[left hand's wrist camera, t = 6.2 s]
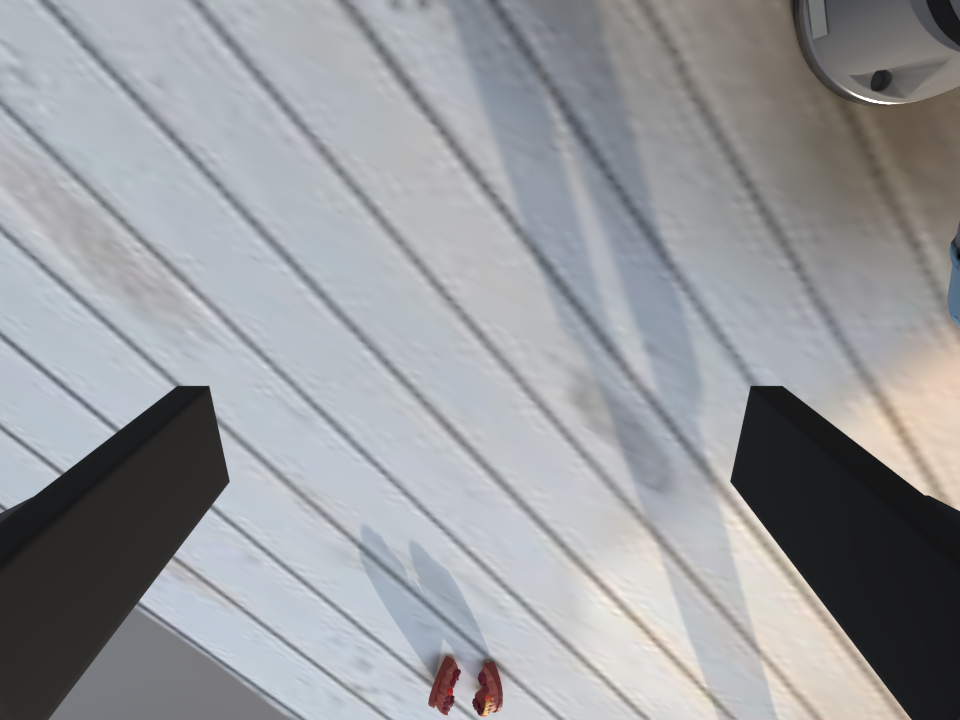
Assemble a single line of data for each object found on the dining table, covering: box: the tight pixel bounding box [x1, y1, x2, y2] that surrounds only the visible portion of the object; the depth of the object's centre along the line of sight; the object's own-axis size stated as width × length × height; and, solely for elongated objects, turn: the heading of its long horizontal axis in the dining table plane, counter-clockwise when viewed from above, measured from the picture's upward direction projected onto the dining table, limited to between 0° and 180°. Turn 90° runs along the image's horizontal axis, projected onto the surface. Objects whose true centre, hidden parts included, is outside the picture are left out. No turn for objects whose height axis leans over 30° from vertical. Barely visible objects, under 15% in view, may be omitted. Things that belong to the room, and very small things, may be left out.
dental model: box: [428, 656, 503, 716], centre depth 57 cm, size 6×4×8 cm
